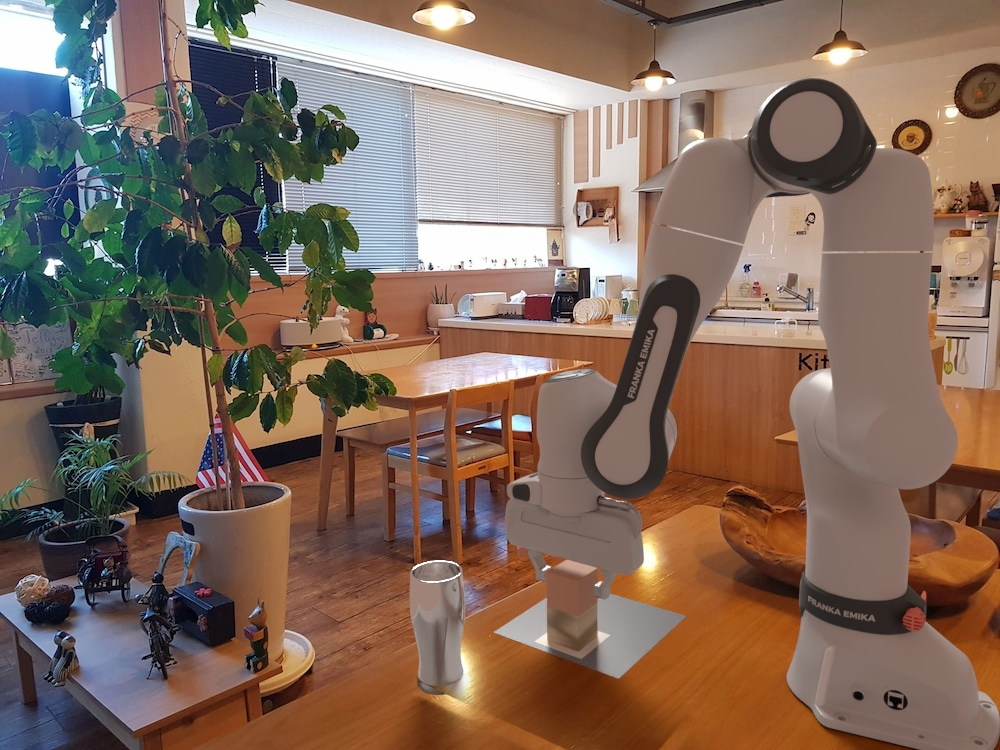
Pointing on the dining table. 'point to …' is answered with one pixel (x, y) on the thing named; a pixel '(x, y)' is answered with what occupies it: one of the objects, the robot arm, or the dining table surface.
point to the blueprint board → (600, 633)
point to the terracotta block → (571, 587)
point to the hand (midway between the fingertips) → (572, 588)
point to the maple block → (572, 628)
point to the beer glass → (438, 622)
